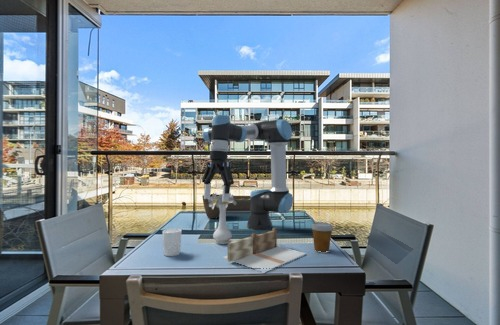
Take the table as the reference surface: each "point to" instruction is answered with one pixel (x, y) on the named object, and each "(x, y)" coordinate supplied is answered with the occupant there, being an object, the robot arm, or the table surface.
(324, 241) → the disposable coffee cup
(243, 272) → the table surface
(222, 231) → the flower vase
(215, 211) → the plant pot
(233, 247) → the hinged fence panel
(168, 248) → the white cup
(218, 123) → the robot arm
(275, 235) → the fixed fence section
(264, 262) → the board
